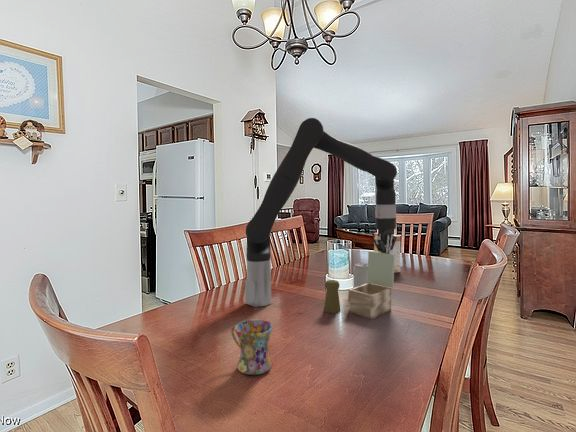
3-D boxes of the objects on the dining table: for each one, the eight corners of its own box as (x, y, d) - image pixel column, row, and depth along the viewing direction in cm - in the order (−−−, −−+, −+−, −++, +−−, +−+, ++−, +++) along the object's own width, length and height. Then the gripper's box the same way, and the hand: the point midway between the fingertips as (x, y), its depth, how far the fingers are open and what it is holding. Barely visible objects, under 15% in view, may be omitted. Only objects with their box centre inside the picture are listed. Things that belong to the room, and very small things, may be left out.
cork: (329, 306, 126) (329, 277, 126) (343, 309, 123) (343, 280, 122) (320, 310, 122) (320, 280, 121) (335, 314, 118) (334, 283, 117)
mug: (280, 365, 84) (280, 324, 83) (257, 383, 77) (256, 337, 76) (244, 352, 91) (243, 314, 90) (219, 368, 83) (218, 326, 82)
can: (371, 295, 139) (371, 266, 138) (353, 294, 141) (353, 266, 140) (370, 289, 146) (371, 262, 146) (353, 289, 148) (353, 262, 147)
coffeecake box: (373, 267, 189) (373, 232, 187) (384, 266, 191) (384, 232, 190) (389, 273, 175) (389, 236, 173) (400, 272, 177) (401, 235, 175)
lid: (393, 254, 120) (394, 254, 121) (368, 251, 128) (369, 251, 128) (392, 287, 121) (393, 287, 121) (367, 282, 128) (368, 282, 129)
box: (372, 319, 113) (372, 295, 113) (348, 311, 121) (348, 289, 120) (391, 310, 121) (391, 288, 121) (367, 303, 129) (367, 283, 128)
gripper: (386, 215, 133) (385, 258, 134) (366, 217, 124) (367, 263, 125) (403, 215, 127) (403, 260, 129) (385, 218, 118) (385, 266, 120)
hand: (385, 262), depth 127 cm, fingers closed
